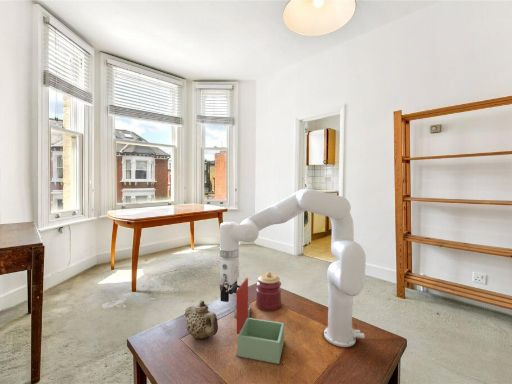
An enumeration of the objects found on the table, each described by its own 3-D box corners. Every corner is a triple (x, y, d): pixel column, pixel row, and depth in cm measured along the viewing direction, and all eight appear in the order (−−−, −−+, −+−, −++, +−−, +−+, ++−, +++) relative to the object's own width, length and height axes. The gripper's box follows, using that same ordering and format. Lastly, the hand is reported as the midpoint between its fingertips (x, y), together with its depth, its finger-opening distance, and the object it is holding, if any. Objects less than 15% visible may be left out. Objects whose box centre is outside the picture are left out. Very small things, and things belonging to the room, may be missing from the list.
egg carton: (249, 319, 115) (249, 310, 115) (233, 318, 116) (233, 310, 115) (250, 307, 126) (250, 299, 126) (236, 307, 126) (236, 299, 126)
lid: (248, 278, 102) (235, 276, 103) (238, 291, 90) (225, 289, 91) (248, 316, 102) (236, 314, 104) (238, 334, 90) (225, 332, 92)
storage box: (283, 341, 99) (284, 323, 99) (279, 364, 87) (279, 342, 87) (246, 335, 103) (247, 317, 103) (237, 356, 91) (237, 335, 90)
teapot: (176, 331, 105) (175, 297, 105) (198, 320, 114) (198, 288, 113) (205, 355, 91) (205, 316, 90) (228, 341, 99) (229, 305, 98)
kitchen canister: (285, 303, 131) (285, 270, 130) (273, 314, 120) (274, 278, 119) (264, 296, 138) (264, 266, 137) (251, 306, 127) (251, 273, 126)
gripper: (230, 260, 87) (230, 307, 88) (244, 248, 104) (244, 287, 105) (211, 259, 89) (211, 304, 90) (228, 247, 106) (228, 285, 107)
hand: (229, 295), depth 97 cm, fingers open, 9 cm apart
